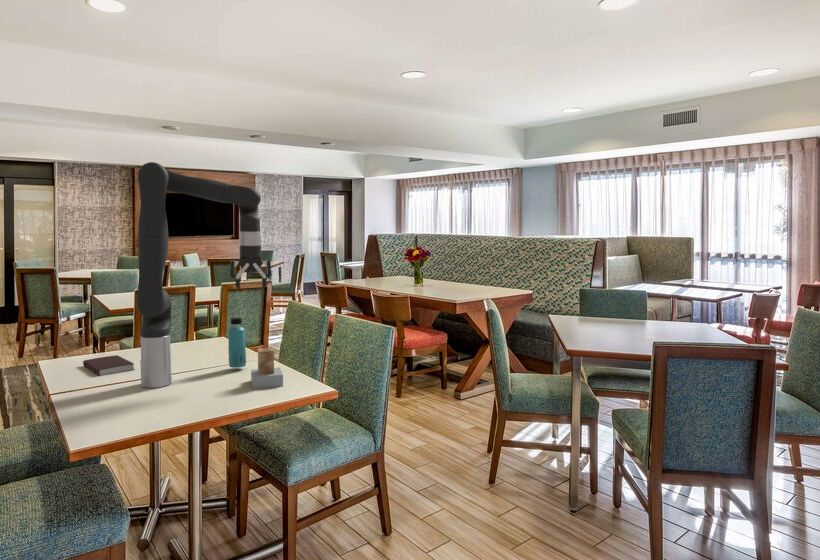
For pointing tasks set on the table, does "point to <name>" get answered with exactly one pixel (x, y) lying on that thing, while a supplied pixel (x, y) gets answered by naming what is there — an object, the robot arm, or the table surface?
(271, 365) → the walnut block
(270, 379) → the base plinth
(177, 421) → the table surface
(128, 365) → the book
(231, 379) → the table surface
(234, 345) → the beverage bottle
